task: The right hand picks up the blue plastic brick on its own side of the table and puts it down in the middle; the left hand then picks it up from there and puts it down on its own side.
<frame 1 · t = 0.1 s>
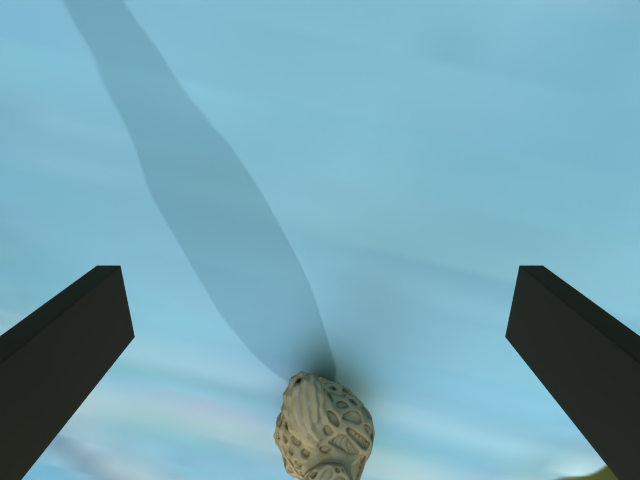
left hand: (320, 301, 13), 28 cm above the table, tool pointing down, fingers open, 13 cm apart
teapot: (325, 402, 49), on the table
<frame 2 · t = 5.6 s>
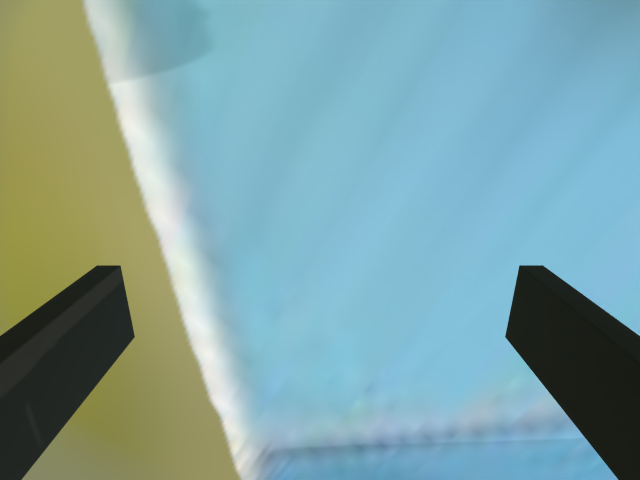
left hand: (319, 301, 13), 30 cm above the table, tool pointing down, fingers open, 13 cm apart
when the right hand's fingers open (3 cm above the table, at t = 15.4 s): brick drops 1 cm, on the table.
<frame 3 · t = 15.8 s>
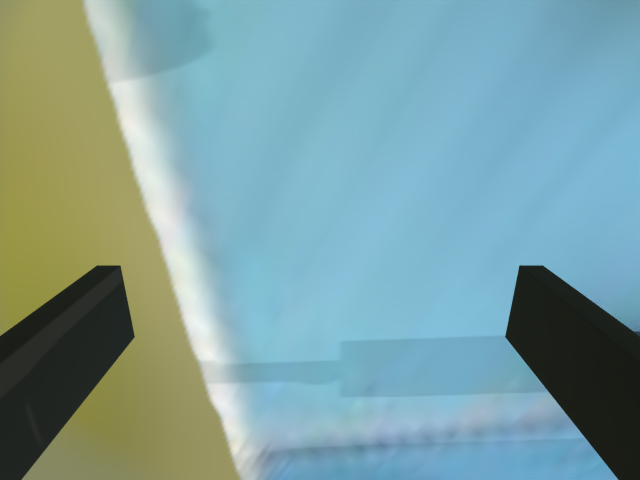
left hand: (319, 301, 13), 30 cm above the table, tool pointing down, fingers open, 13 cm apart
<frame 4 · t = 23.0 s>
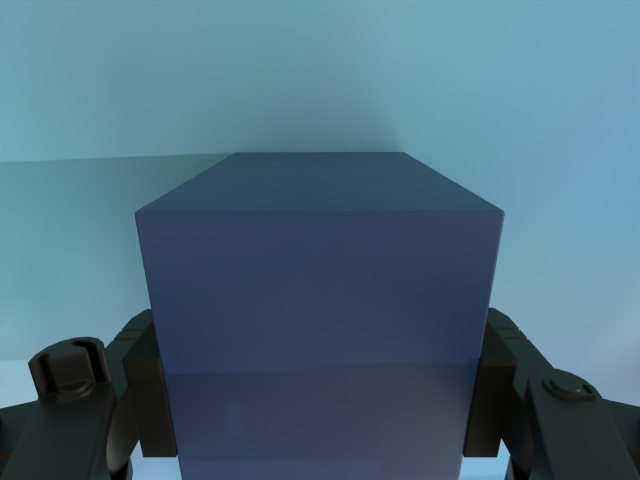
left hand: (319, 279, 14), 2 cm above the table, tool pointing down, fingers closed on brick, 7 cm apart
brick: (320, 259, 16), on the table, touching left hand
when the left hand's fingers open (3 cm above the table, at t = 28.5 s): brick drops 1 cm, on the table.
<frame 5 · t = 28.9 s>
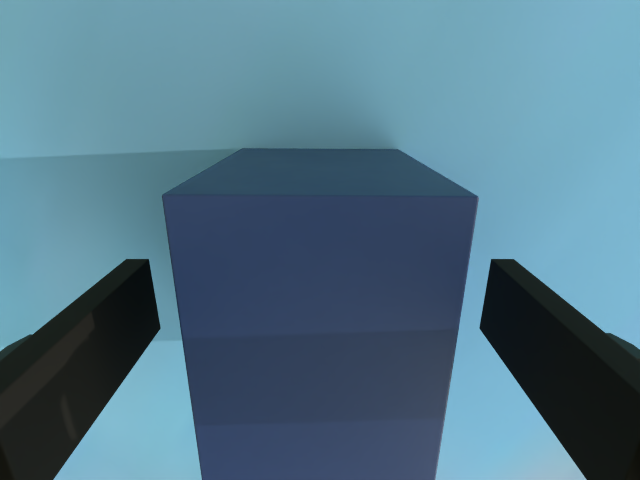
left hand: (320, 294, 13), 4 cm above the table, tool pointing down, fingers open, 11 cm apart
brick: (319, 249, 17), on the table
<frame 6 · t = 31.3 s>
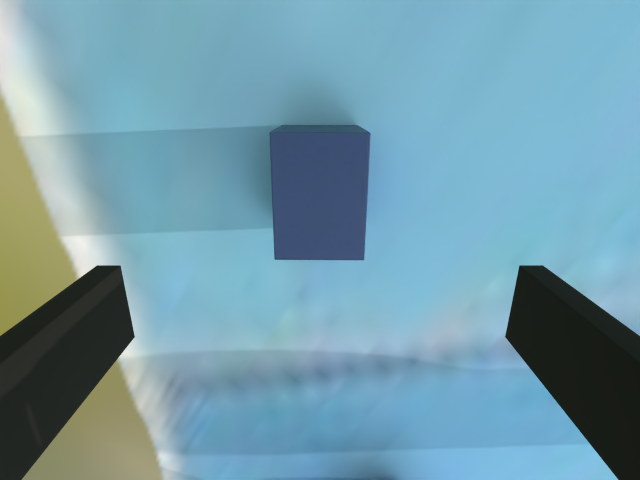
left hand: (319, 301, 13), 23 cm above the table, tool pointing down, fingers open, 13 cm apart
brick: (319, 177, 34), on the table
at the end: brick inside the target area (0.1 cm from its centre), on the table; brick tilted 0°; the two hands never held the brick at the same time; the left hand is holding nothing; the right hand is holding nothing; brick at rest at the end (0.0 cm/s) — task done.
